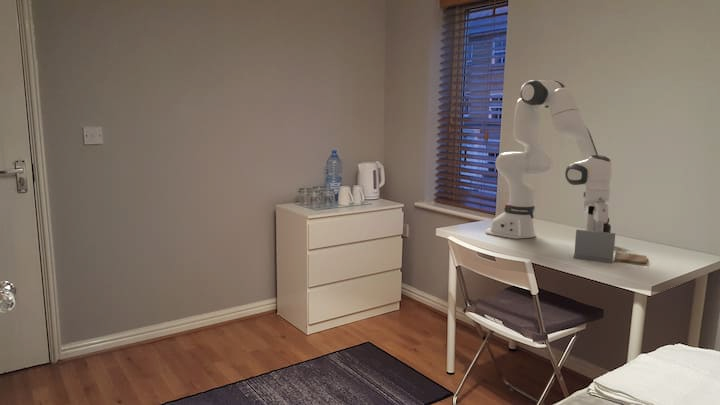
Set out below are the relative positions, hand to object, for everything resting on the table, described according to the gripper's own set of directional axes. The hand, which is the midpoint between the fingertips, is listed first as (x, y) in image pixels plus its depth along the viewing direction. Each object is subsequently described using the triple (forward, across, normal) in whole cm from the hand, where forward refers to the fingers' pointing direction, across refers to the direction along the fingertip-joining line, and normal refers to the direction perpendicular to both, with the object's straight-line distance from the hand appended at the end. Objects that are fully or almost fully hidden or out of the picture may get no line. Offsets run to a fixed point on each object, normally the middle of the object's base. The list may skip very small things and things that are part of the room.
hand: (594, 229), depth 214 cm
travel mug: (+10, 0, 0) cm, 10 cm away
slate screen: (+10, -9, +2) cm, 14 cm away
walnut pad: (+10, -7, -12) cm, 17 cm away
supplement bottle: (+10, +17, -8) cm, 22 cm away
